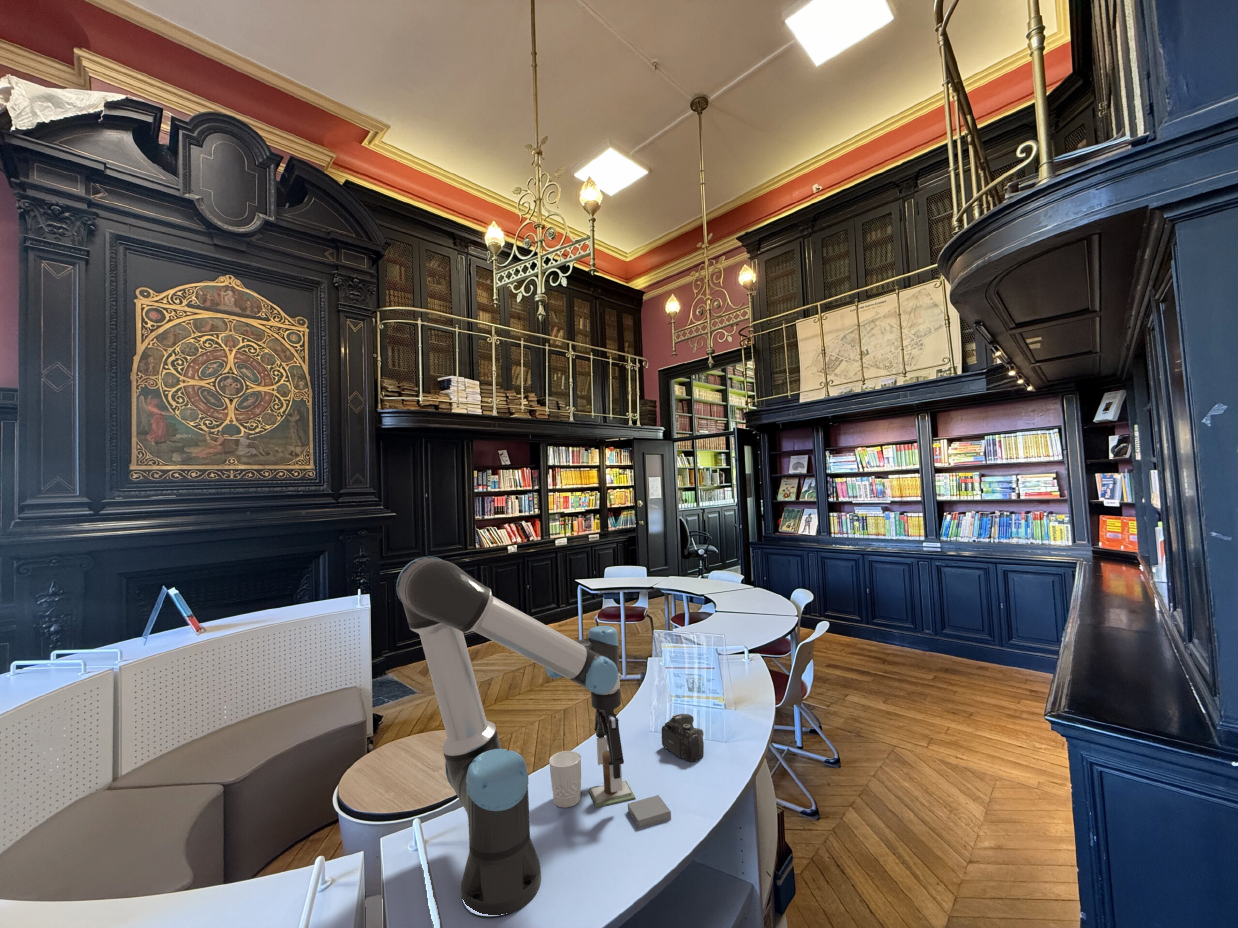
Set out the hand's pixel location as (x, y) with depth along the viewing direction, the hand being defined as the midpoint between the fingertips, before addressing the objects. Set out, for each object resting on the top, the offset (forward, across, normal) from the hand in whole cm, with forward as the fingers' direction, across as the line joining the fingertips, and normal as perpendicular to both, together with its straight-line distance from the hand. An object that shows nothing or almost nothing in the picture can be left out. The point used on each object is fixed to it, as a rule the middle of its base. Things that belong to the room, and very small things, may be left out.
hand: (609, 776), depth 128 cm
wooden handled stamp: (+4, 0, 0) cm, 4 cm away
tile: (+4, -8, -6) cm, 11 cm away
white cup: (+5, +2, +11) cm, 12 cm away
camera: (+4, +13, -26) cm, 29 cm away
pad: (+4, 0, 0) cm, 5 cm away
